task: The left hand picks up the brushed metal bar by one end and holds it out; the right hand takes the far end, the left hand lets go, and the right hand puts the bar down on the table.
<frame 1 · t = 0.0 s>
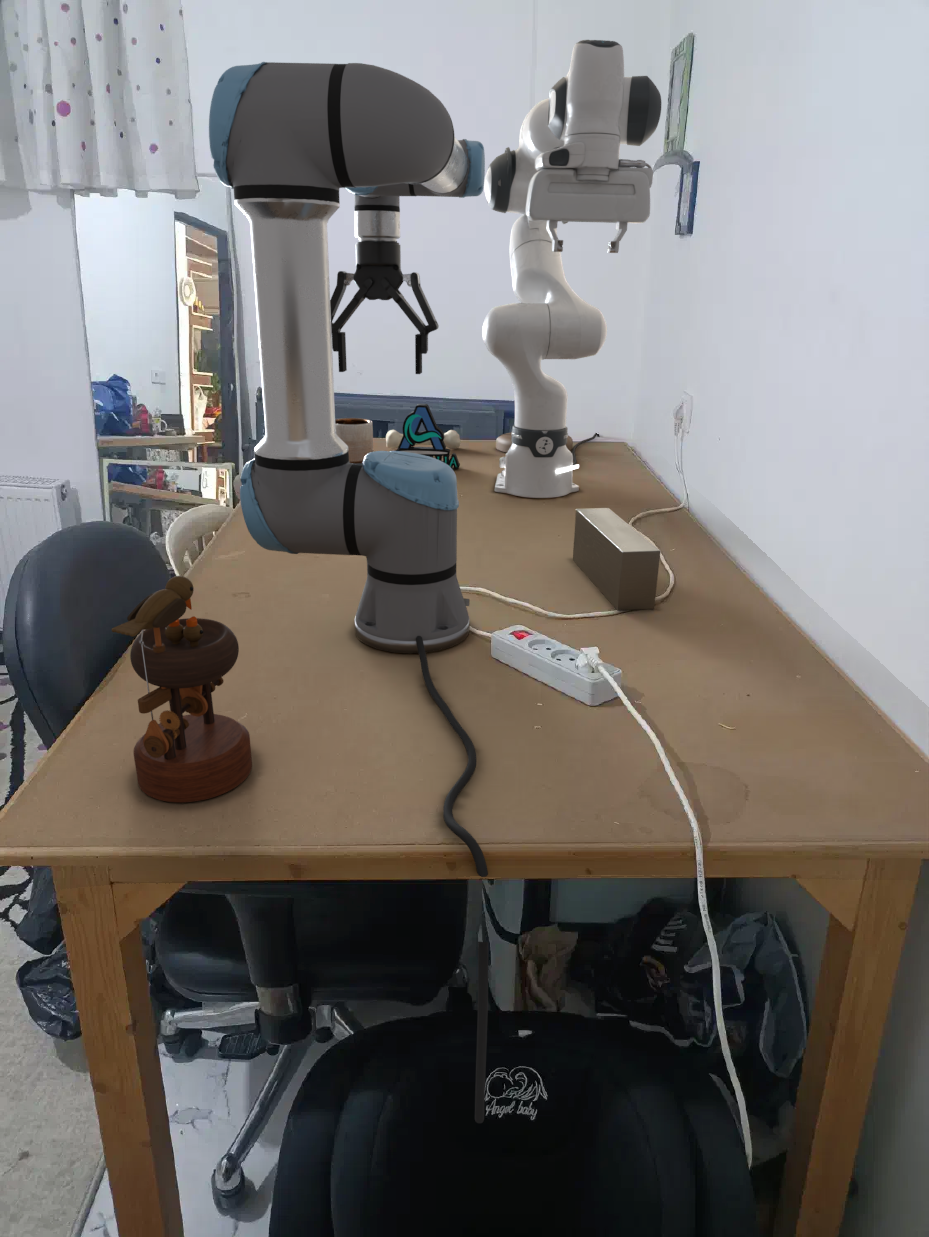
left hand: (380, 372, 149), 28 cm above the table, tool pointing down, fingers open, 13 cm apart
right hand: (585, 252, 140), 48 cm above the table, tool pointing down, fingers open, 8 cm apart
planter: (352, 460, 214), on the table
decorative sign: (421, 467, 207), on the table
bar: (610, 582, 132), on the table
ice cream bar: (537, 454, 225), on the table
dog toy: (422, 449, 229), on the table
music box: (199, 768, 81), on the table
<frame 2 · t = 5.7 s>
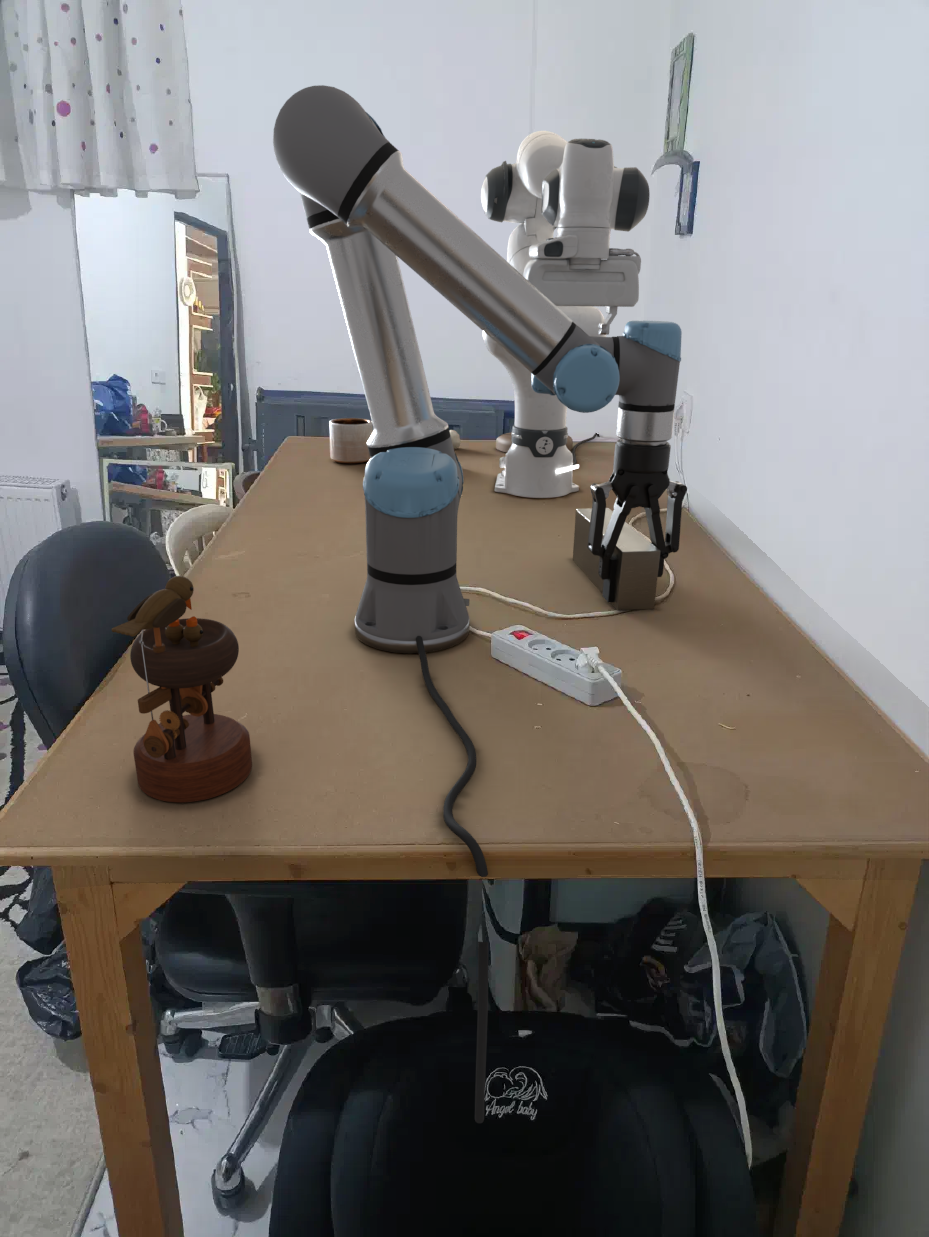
left hand: (628, 597, 125), 1 cm above the table, tool pointing down, fingers closed on bar, 6 cm apart
right hand: (577, 334, 147), 35 cm above the table, tool pointing down, fingers open, 8 cm apart
bar: (610, 582, 132), on the table, touching left hand
everything else where it was.
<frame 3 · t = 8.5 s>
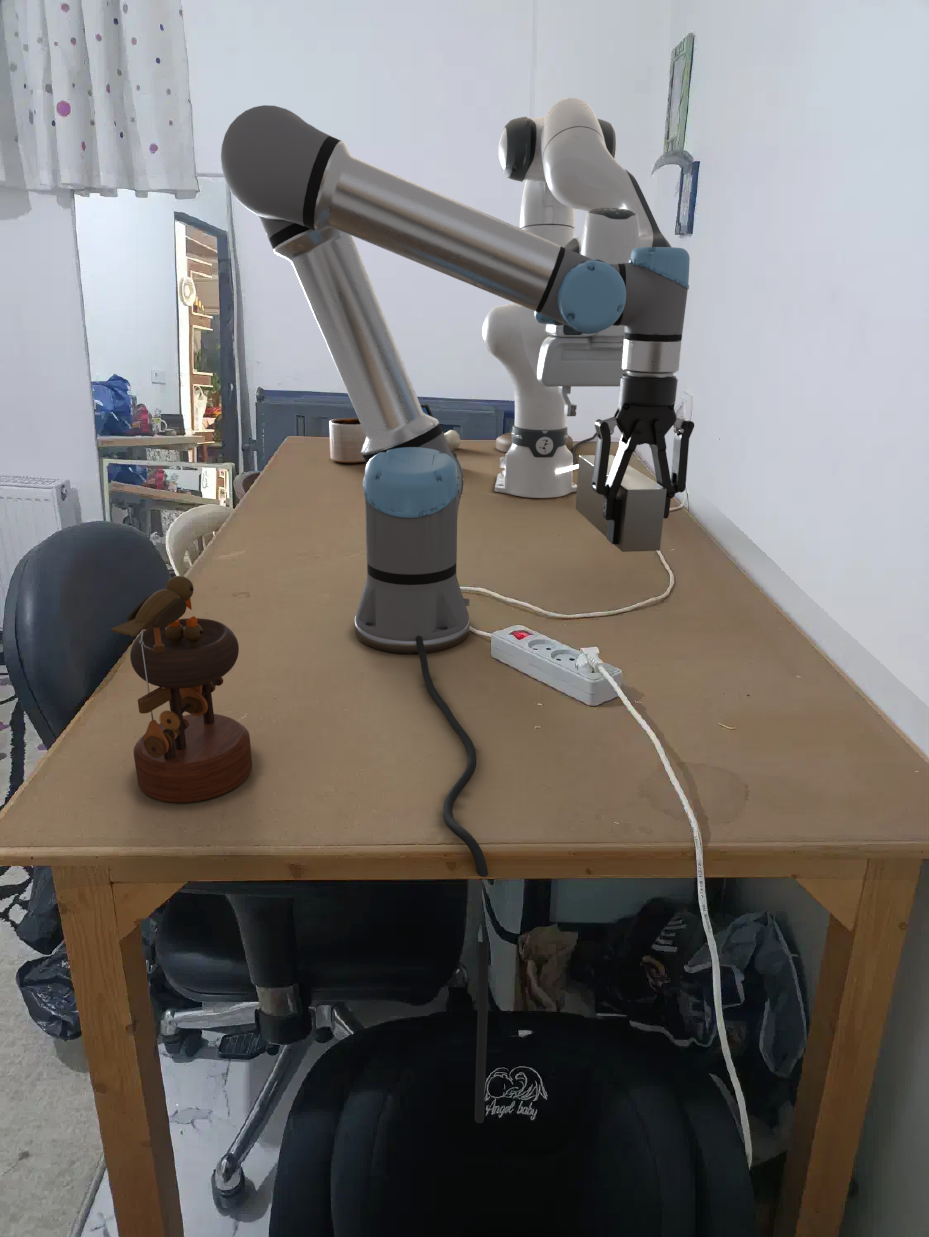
left hand: (633, 540, 121), 9 cm above the table, tool pointing down, fingers closed on bar, 6 cm apart
right hand: (598, 415, 135), 24 cm above the table, tool pointing down, fingers open, 8 cm apart
bar: (614, 528, 129), point 9 cm above the table, touching left hand
everything else where it was.
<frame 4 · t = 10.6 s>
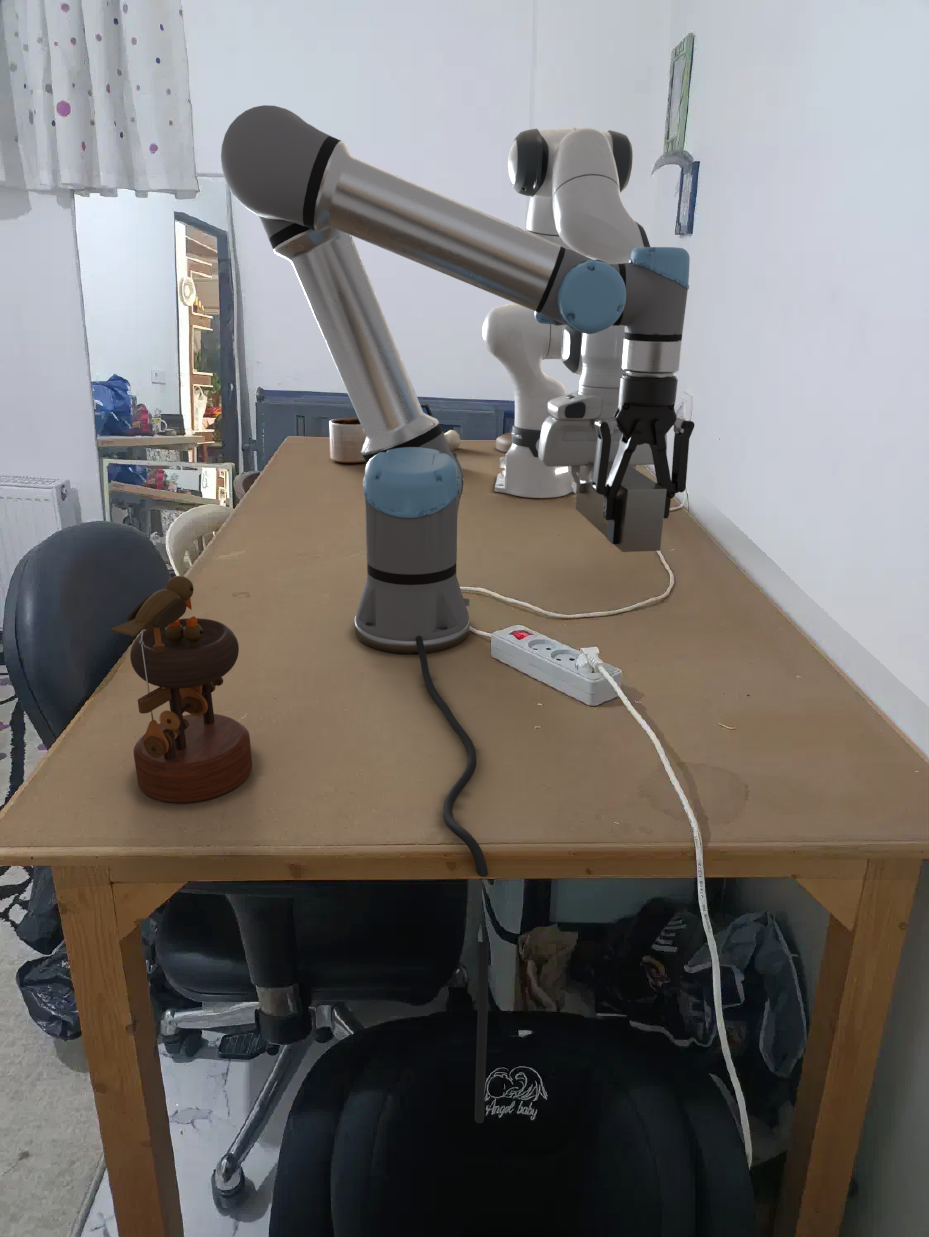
left hand: (633, 540, 121), 9 cm above the table, tool pointing down, fingers closed on bar, 6 cm apart
right hand: (599, 492, 135), 12 cm above the table, tool pointing down, fingers closed on bar, 5 cm apart
bar: (614, 528, 129), point 9 cm above the table, touching left hand, right hand
everything else where it was.
when the left hand's fingers open (9 cm above the table, at t = 11.5 s): bar stays where it is, held by the right hand.
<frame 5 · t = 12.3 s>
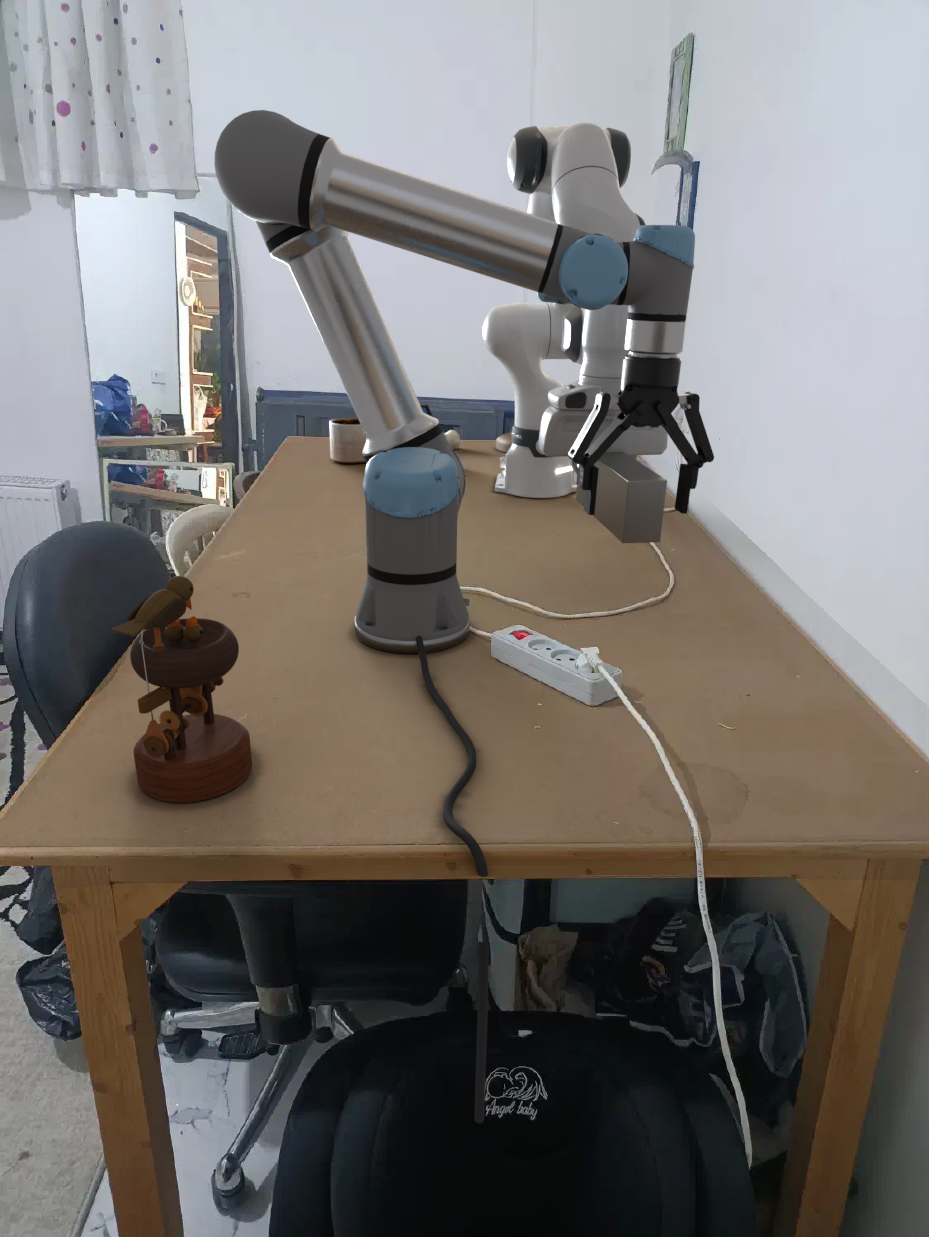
left hand: (635, 512, 119), 14 cm above the table, tool pointing down, fingers open, 13 cm apart
right hand: (599, 482, 135), 14 cm above the table, tool pointing down, fingers closed on bar, 5 cm apart
bar: (614, 519, 129), point 10 cm above the table, touching right hand
everything else where it was.
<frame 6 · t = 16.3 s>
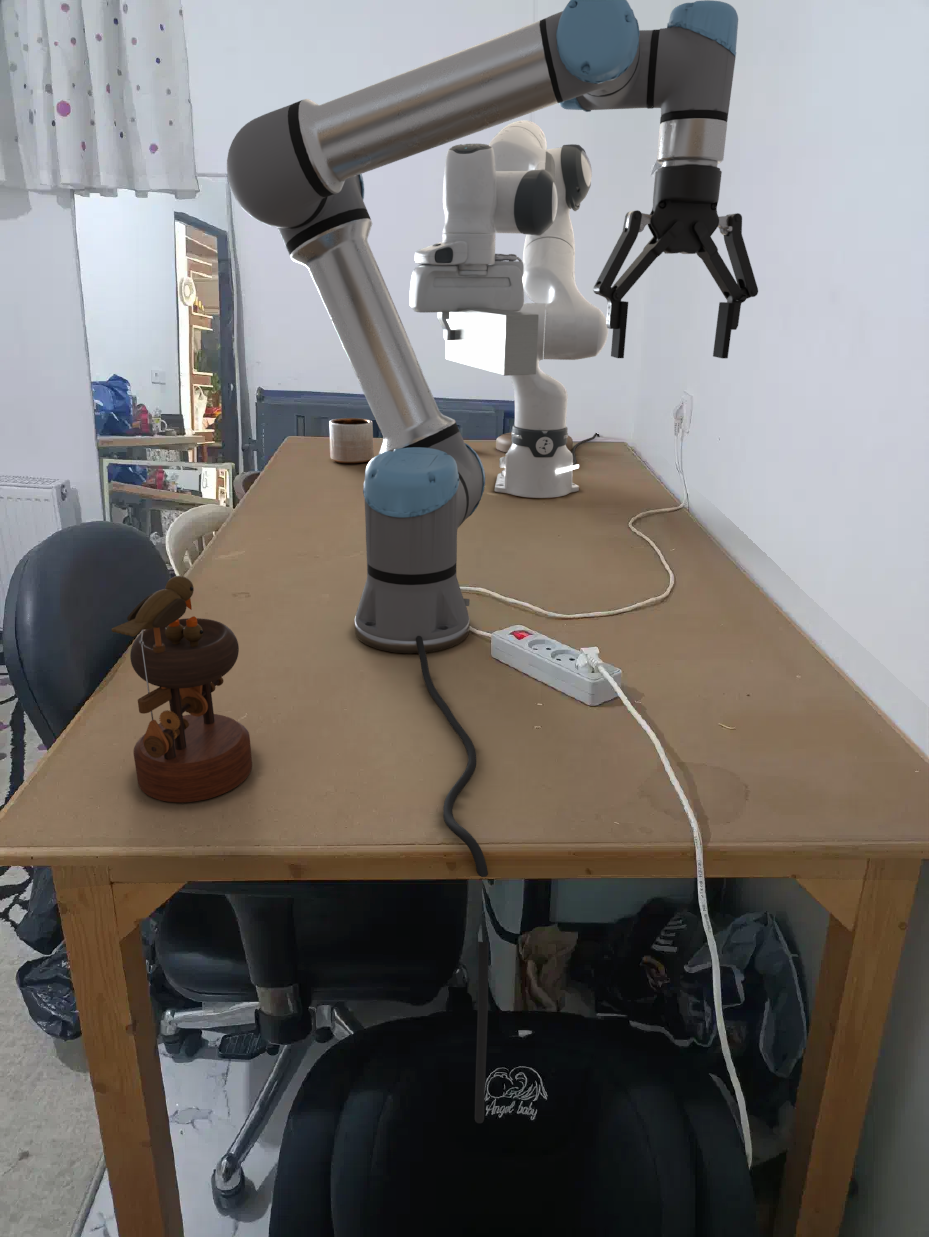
left hand: (669, 357, 106), 35 cm above the table, tool pointing down, fingers open, 13 cm apart
right hand: (467, 340, 147), 34 cm above the table, tool pointing down, fingers closed on bar, 5 cm apart
bar: (488, 366, 141), point 30 cm above the table, touching right hand
everything else where it was.
when the right hand's fingers open (5 cm above the table, at t = 22.4 s): bar drops 1 cm, on the table.
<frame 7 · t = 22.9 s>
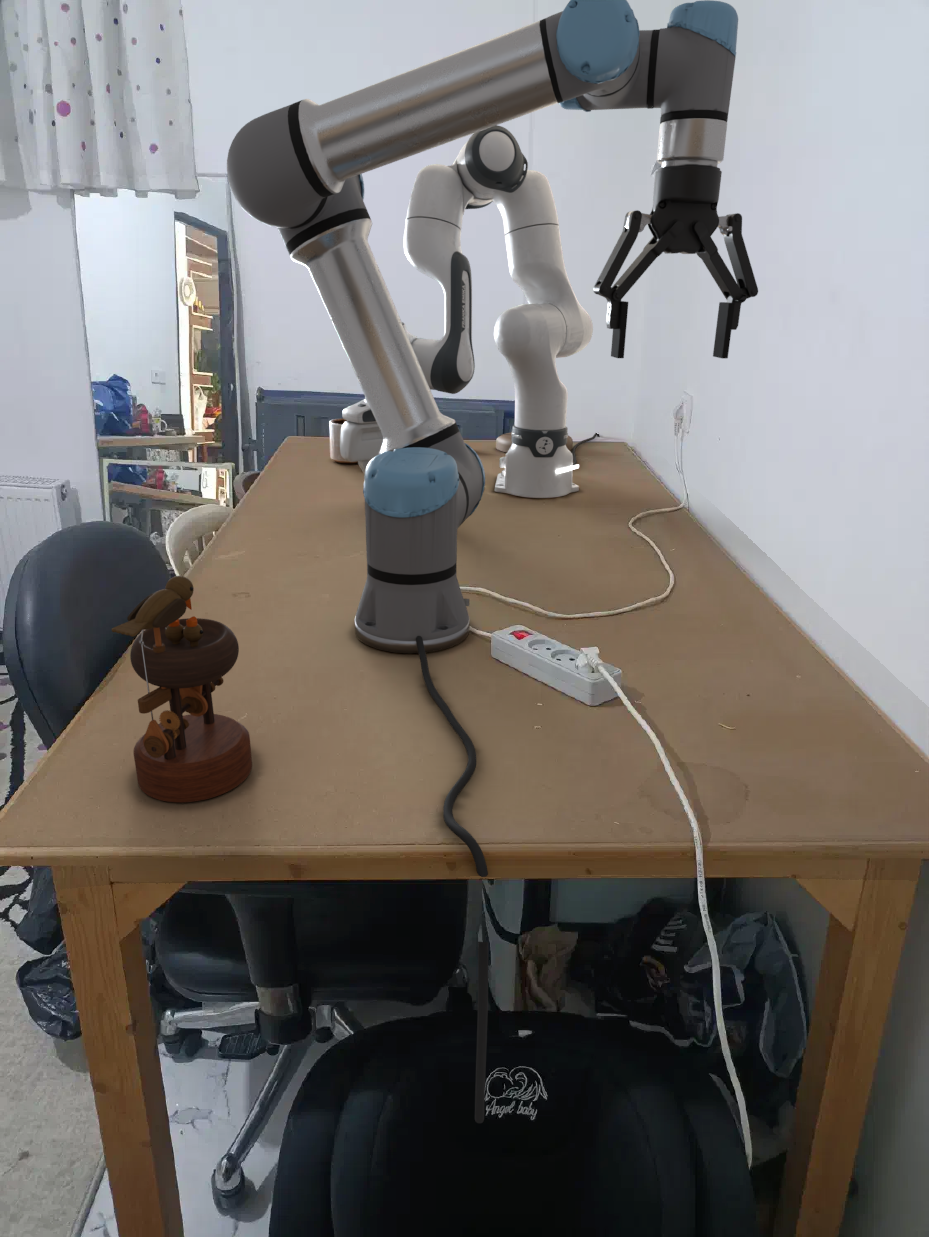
left hand: (669, 357, 106), 35 cm above the table, tool pointing down, fingers open, 13 cm apart
right hand: (390, 478, 171), 6 cm above the table, tool pointing down, fingers open, 8 cm apart
bar: (408, 514, 167), on the table
everything else where it was.
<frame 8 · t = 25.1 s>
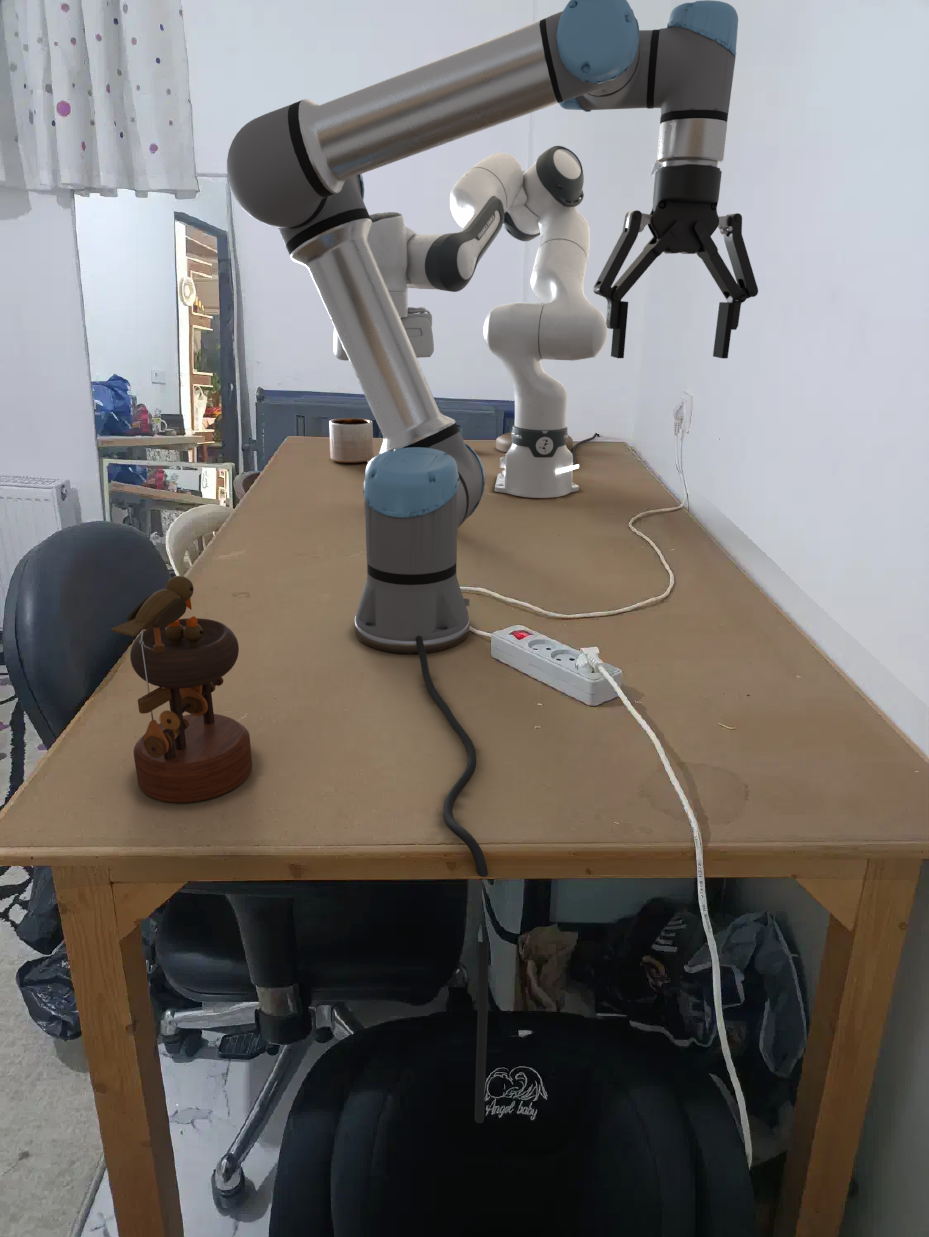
left hand: (669, 357, 106), 35 cm above the table, tool pointing down, fingers open, 13 cm apart
right hand: (385, 383, 164), 24 cm above the table, tool pointing down, fingers open, 8 cm apart
nothing on the table moved.
at the end: bar inside the target area (8.1 cm from its centre), on the table; the left hand is holding nothing; the right hand is holding nothing; bar at rest at the end (0.0 cm/s) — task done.
